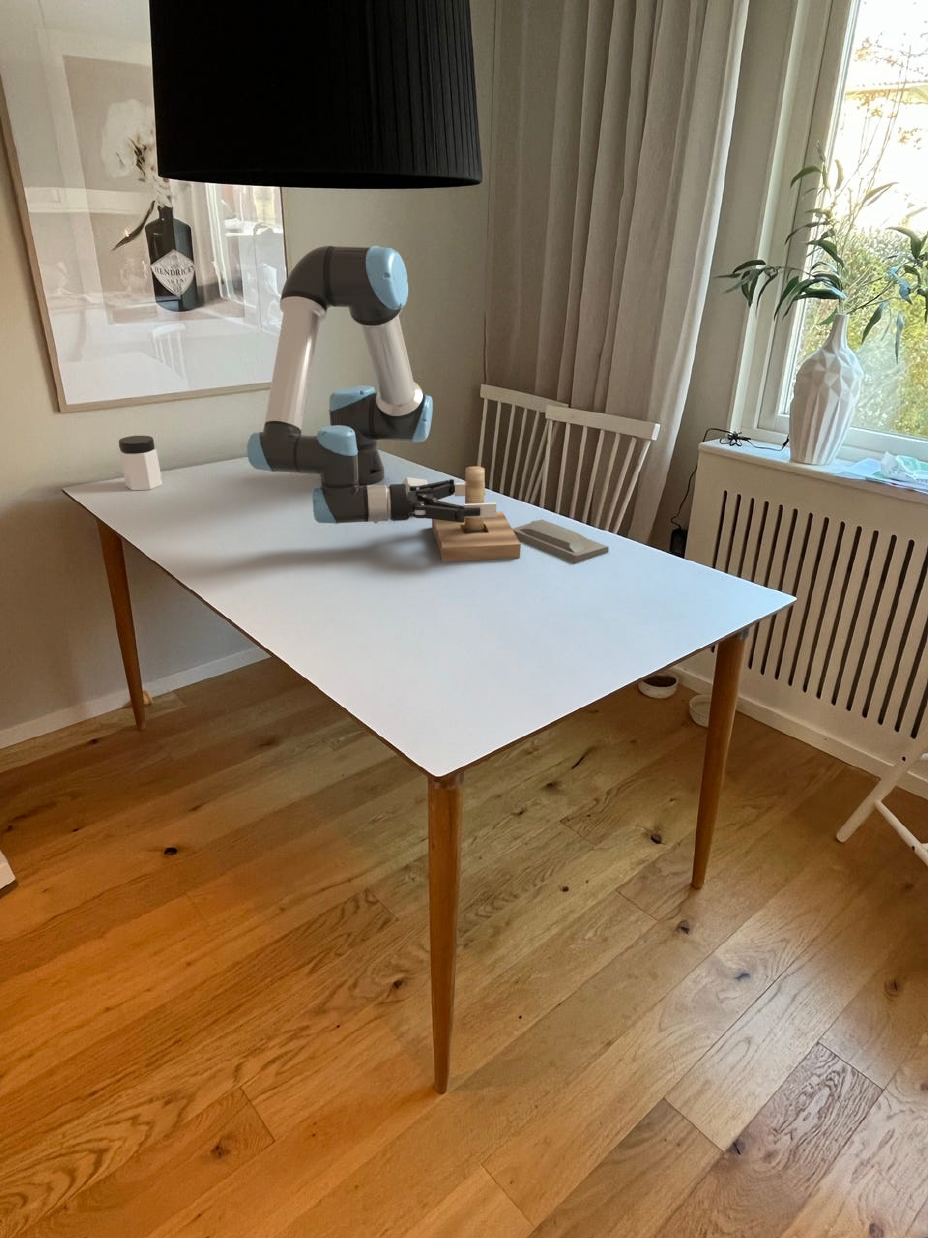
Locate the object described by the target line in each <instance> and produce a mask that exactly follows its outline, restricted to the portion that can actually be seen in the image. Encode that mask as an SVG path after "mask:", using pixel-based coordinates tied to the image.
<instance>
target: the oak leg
mask: <svg viewBox="0 0 928 1238" xmlns="http://www.w3.org/2000/svg"><path fill="white" fill-rule="evenodd" d="M464 472H465V473H464V474H465V475H464V483H465V496H464V504H472V503H485V495H484V483H485V476H486V475H485V473H486V471H485V468H484V467H482V466H468V467H466V468H465V470H464ZM483 530H484V517H471V518H465V534H470V533H483Z"/></svg>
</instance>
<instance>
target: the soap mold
mask: <svg viewBox="0 0 928 1238" xmlns="http://www.w3.org/2000/svg"><path fill="white" fill-rule="evenodd" d="M512 530H513V531H514V533H515V535H516V537H517V538H518V540H519V542H520V541H521V542H523V543H525V544H527V545H530V546H531V547H535V548H537V549H539V550H541V551H543V552H547V553H548V554H551V555H553V556H556V557H558V558H560V559H563V560H565V561H568V562H571V563H572V564H578V563H581V562H583V561H587V560H589V559H593V558H596V557H598V556H601V555H603V554H604V555H605V554H607V553H609V552H610V551H609V549H610V548H609V546H608V545H605V544H603V543H600V542H597V541H595V540H593V539H590V538H587V537H586V536H583V535H582V534H580V533H579V532H576V531H574V530H571V529H569V528H566V527H563V526H560V525H558V524H555V523H553V522H551V521H549V520H545V519H538V520H533V521H531V522H528V523H525V524H522V525H519V526H517V527H512Z"/></svg>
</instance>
